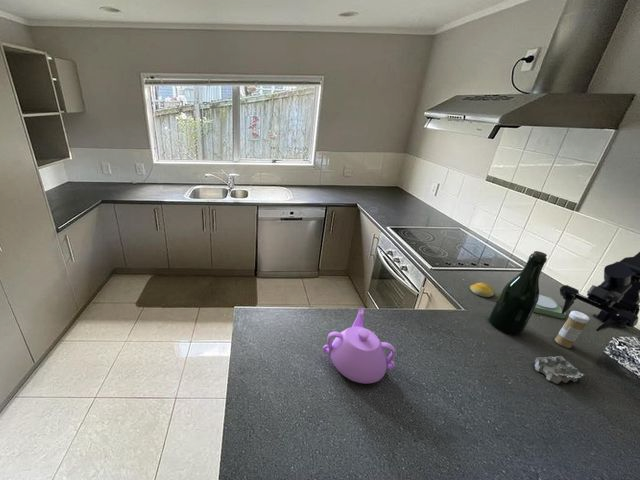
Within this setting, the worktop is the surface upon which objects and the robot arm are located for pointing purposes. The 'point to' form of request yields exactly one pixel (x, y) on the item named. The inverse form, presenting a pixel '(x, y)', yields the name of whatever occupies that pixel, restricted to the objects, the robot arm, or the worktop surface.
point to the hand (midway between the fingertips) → (578, 321)
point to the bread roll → (482, 289)
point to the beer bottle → (519, 297)
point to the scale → (548, 307)
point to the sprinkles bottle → (572, 328)
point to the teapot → (359, 353)
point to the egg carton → (557, 369)
